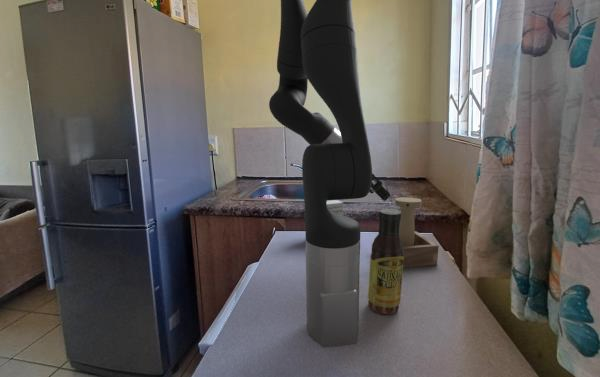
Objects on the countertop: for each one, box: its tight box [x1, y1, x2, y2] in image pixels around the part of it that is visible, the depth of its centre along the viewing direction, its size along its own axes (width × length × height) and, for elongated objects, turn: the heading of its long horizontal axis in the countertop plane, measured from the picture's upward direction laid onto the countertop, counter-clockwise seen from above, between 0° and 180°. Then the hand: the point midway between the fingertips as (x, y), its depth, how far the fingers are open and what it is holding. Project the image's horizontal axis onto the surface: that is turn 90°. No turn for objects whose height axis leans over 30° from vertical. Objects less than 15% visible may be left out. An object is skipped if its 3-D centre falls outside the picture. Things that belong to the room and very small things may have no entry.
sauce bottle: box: [367, 208, 404, 315], centre depth 67 cm, size 6×6×20 cm
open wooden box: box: [403, 230, 439, 268], centre depth 92 cm, size 11×11×5 cm
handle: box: [394, 196, 422, 247], centre depth 90 cm, size 5×6×15 cm
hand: (380, 194), depth 87 cm, fingers open, 8 cm apart
